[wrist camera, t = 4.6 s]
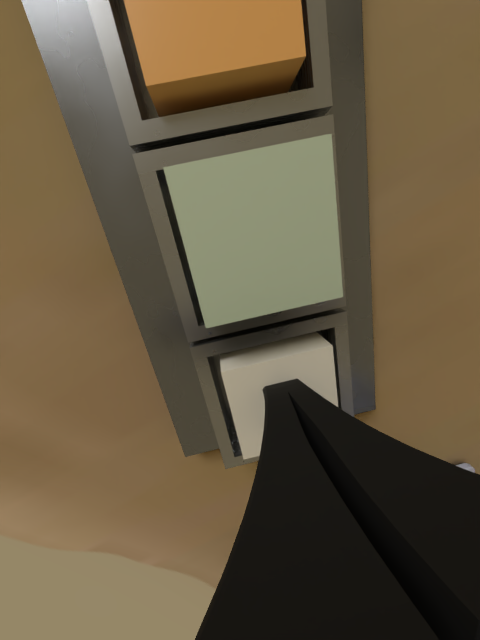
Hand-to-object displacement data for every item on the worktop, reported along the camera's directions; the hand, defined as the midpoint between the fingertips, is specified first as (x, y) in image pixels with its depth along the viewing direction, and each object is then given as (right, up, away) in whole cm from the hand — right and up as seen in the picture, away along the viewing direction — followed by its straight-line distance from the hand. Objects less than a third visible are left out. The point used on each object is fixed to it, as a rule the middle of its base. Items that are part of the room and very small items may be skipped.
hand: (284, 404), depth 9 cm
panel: (-2, +7, +1) cm, 7 cm away
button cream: (0, +1, +2) cm, 2 cm away
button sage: (-1, +6, -1) cm, 6 cm away
